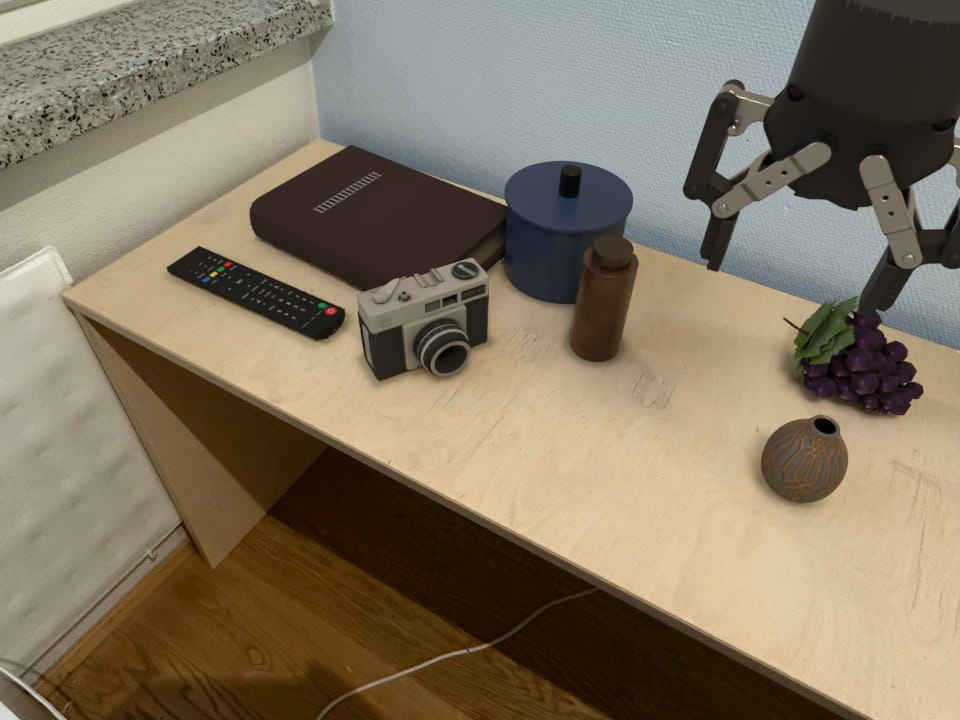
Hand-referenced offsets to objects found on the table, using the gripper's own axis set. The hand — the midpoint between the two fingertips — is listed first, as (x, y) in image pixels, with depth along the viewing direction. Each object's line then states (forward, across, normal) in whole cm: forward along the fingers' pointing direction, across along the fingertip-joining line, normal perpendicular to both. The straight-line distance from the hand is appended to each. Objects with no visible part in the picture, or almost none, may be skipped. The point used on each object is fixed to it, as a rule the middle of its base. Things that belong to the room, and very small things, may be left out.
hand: (786, 285), depth 39 cm
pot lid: (+18, +24, -30) cm, 42 cm away
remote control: (+28, +54, -7) cm, 61 cm away
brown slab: (+28, +46, -23) cm, 59 cm away
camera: (+28, +30, -8) cm, 42 cm away
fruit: (+28, -10, -25) cm, 39 cm away
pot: (+28, +24, -30) cm, 48 cm away
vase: (+28, -8, -10) cm, 31 cm away
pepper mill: (+28, +15, -19) cm, 37 cm away
